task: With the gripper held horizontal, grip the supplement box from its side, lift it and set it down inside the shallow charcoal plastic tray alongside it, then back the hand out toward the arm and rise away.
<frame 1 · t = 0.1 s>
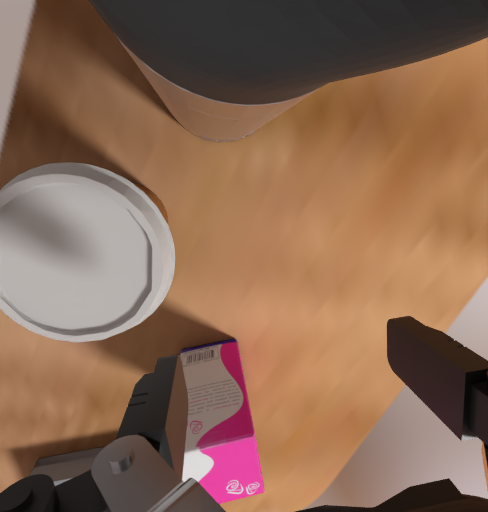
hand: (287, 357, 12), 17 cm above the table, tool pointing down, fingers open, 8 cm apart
disposable coffee cup: (131, 219, 27), on the table
supplement box: (214, 366, 32), on the table
tray: (116, 490, 35), on the table
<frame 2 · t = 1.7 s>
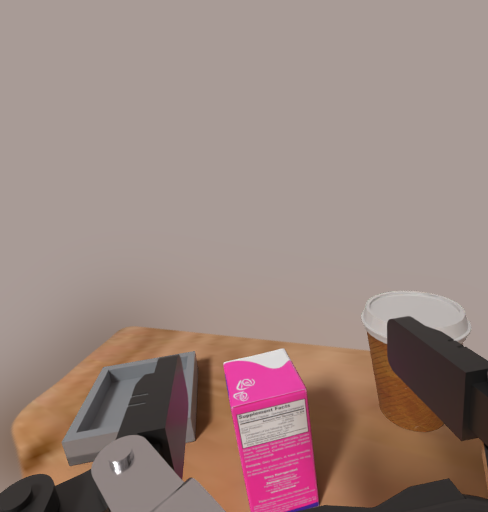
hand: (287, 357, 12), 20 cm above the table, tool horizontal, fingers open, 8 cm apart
disposable coffee cup: (411, 410, 33), on the table
supplement box: (277, 485, 27), on the table
tray: (145, 409, 39), on the table
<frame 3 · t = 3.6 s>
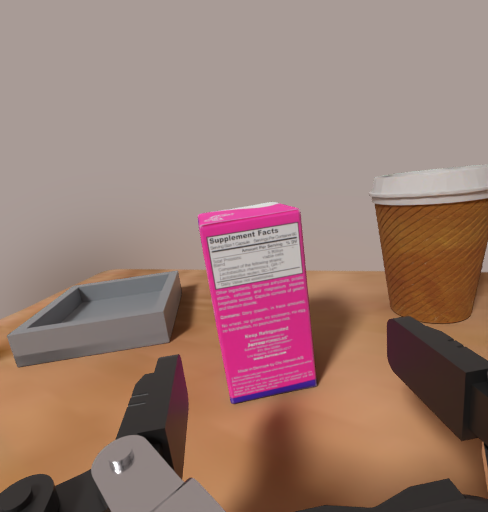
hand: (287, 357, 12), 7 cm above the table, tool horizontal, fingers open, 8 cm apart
disposable coffee cup: (428, 309, 28), on the table
supplement box: (264, 373, 22), on the table
tray: (116, 322, 33), on the table
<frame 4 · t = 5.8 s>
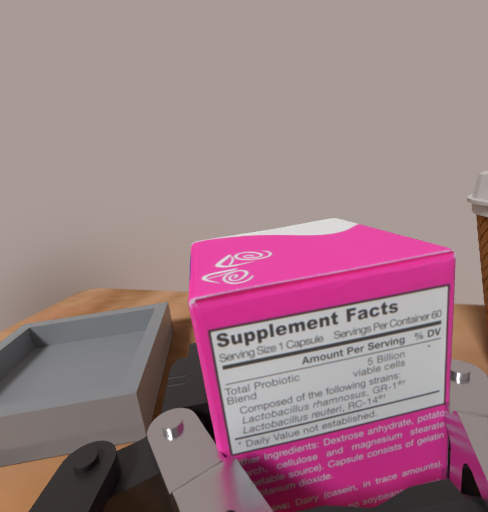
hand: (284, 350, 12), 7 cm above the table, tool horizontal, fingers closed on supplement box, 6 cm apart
tray: (75, 385, 23), on the table
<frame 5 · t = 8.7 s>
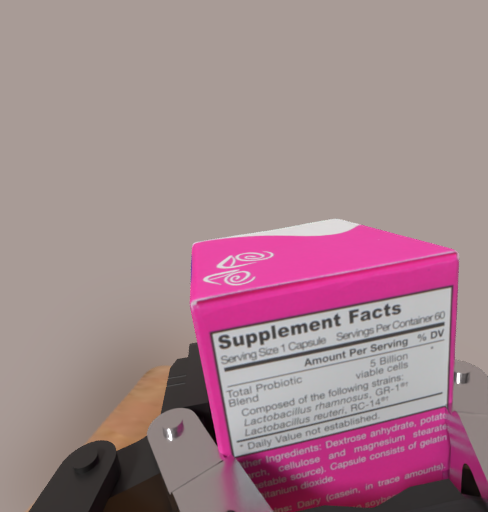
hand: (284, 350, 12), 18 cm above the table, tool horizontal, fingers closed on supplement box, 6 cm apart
when the fingers open (9 cm above the table, at t = 11.4 s): supplement box drops 1 cm, resting on tray.
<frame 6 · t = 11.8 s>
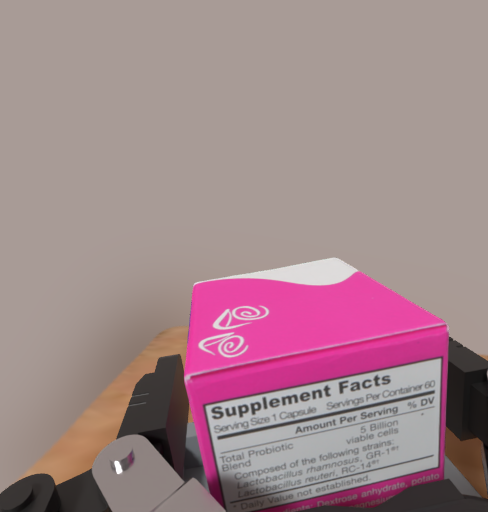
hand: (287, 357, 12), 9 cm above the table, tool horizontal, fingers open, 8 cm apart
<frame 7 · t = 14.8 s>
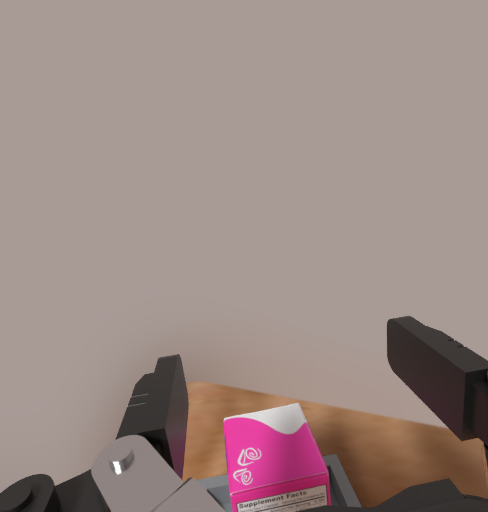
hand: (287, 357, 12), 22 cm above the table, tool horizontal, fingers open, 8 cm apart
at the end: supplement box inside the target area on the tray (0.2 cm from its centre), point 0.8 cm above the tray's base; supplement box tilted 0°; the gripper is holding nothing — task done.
